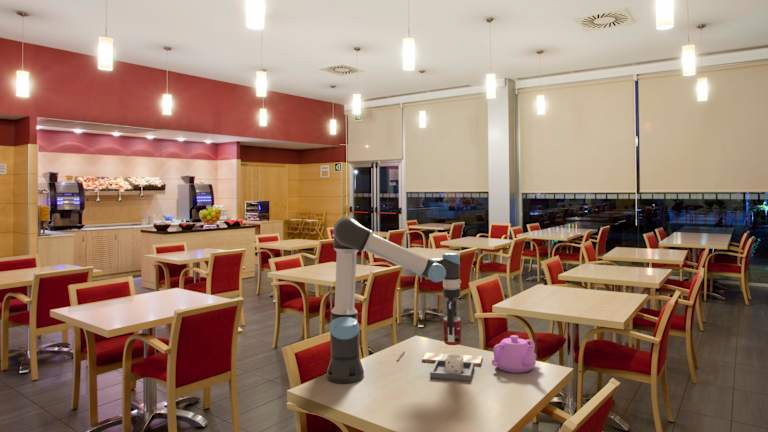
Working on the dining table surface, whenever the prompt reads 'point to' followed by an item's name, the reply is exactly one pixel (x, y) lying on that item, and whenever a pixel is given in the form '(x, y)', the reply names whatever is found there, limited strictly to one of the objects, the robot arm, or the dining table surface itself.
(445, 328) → the canned food
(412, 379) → the dining table surface
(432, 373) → the dice tray
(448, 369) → the cream cube
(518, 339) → the teapot
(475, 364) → the board
